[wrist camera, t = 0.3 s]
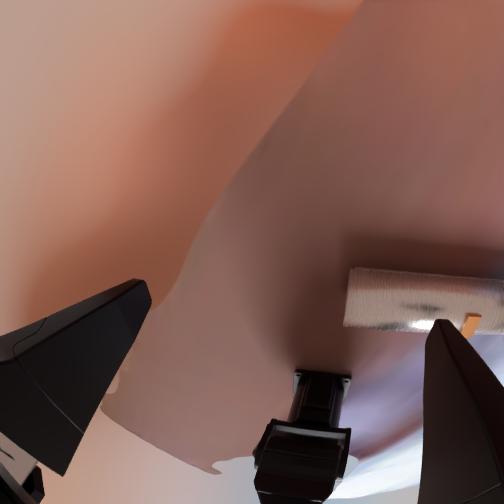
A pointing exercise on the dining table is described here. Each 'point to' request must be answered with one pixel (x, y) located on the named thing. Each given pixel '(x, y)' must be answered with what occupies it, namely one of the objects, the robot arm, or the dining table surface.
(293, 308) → the dining table surface
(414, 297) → the tube
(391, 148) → the dining table surface
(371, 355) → the dining table surface
